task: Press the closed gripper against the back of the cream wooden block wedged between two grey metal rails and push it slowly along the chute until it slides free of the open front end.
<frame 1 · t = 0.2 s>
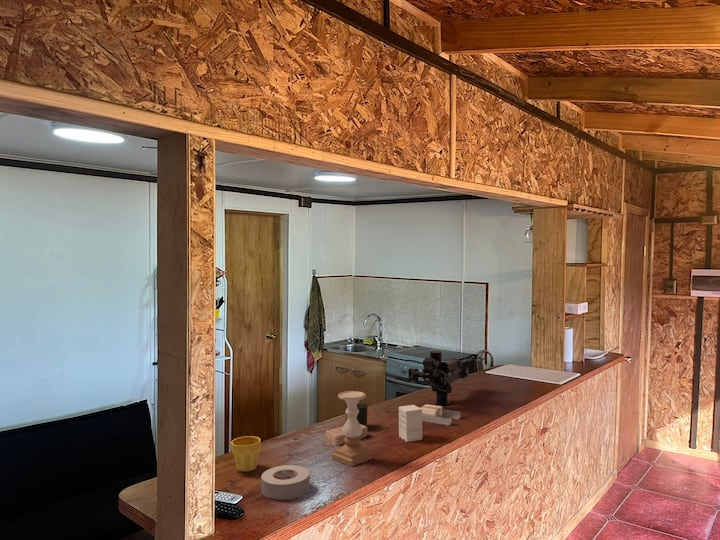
hand: (419, 380, 253), 17 cm above the counter, tool horizontal, fingers open, 9 cm apart
brick: (346, 440, 224), on the counter
block: (430, 418, 252), on the counter
pen holder: (356, 428, 238), on the counter
chute: (436, 418, 250), on the counter
plant pot: (246, 468, 194), on the counter
supplement box: (410, 438, 224), on the counter
candle holder: (352, 459, 202), on the counter
tape roll: (285, 490, 176), on the counter
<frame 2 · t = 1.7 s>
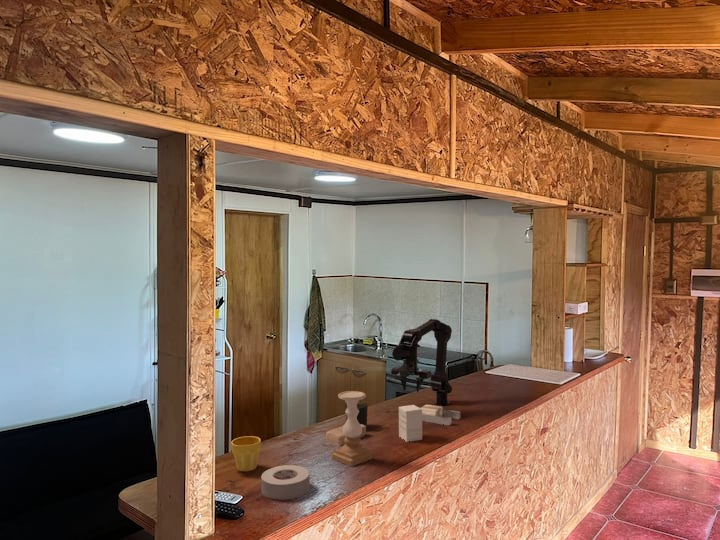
hand: (411, 390, 257), 11 cm above the counter, tool pointing down, fingers open, 6 cm apart
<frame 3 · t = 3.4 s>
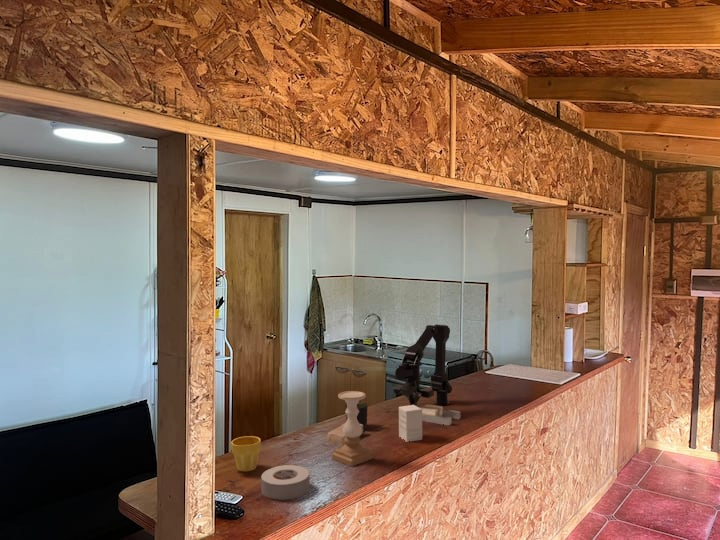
hand: (413, 409, 257), 2 cm above the counter, tool pointing down, fingers closed
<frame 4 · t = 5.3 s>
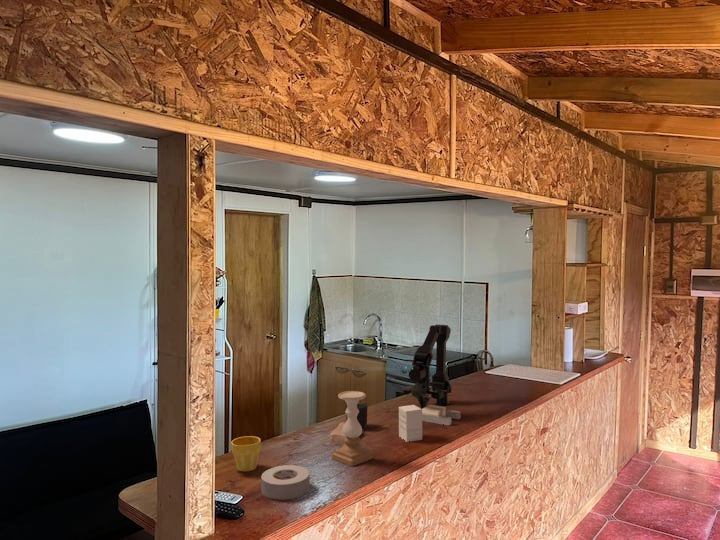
hand: (423, 410, 254), 3 cm above the counter, tool pointing down, fingers closed
block: (433, 418, 251), on the counter
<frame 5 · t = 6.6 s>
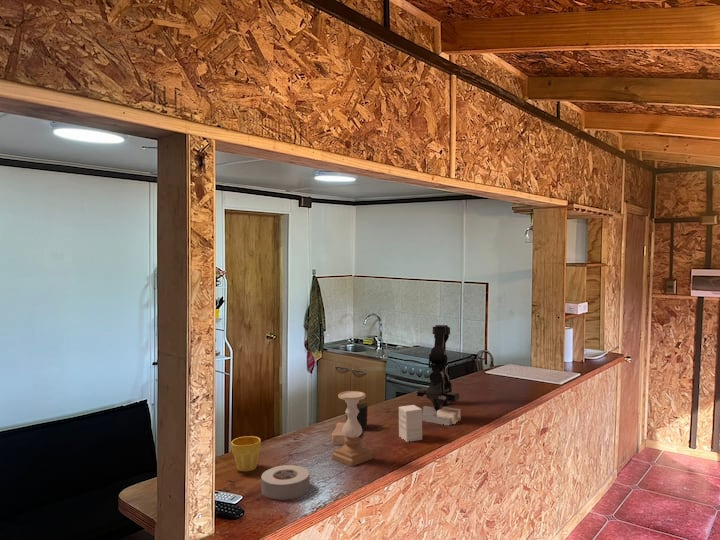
hand: (437, 413, 250), 3 cm above the counter, tool pointing down, fingers closed
block: (448, 421, 247), on the counter, touching gripper
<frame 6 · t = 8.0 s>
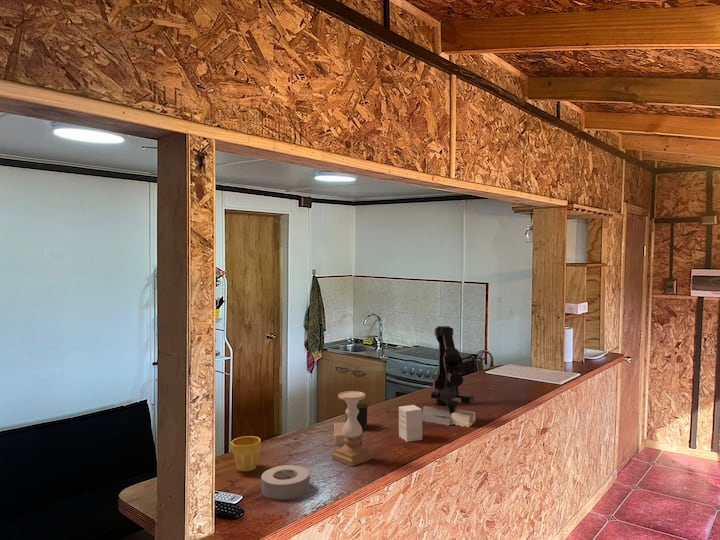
hand: (452, 415, 246), 3 cm above the counter, tool pointing down, fingers closed
block: (463, 424, 243), on the counter, touching gripper
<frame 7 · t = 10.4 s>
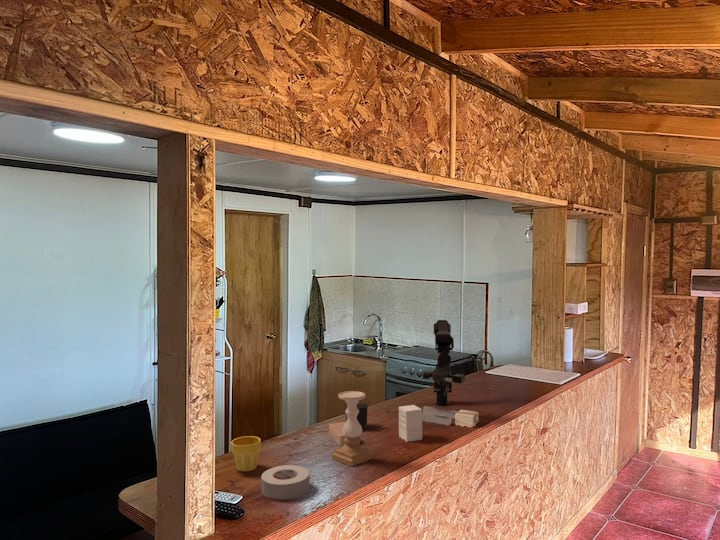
hand: (443, 395, 249), 11 cm above the counter, tool pointing down, fingers closed
block: (466, 424, 243), on the counter
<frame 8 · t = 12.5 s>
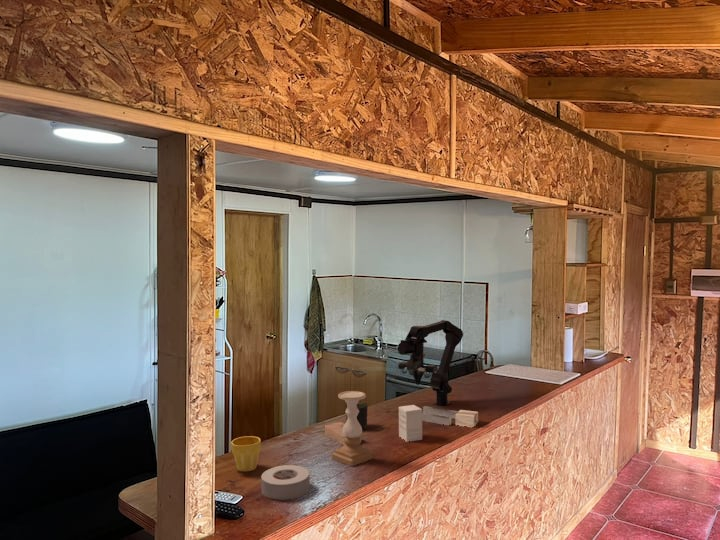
hand: (417, 384, 265), 12 cm above the counter, tool pointing down, fingers closed
at the end: block inside the target area (0.8 cm from its centre), on the counter; block tilted 0° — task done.
